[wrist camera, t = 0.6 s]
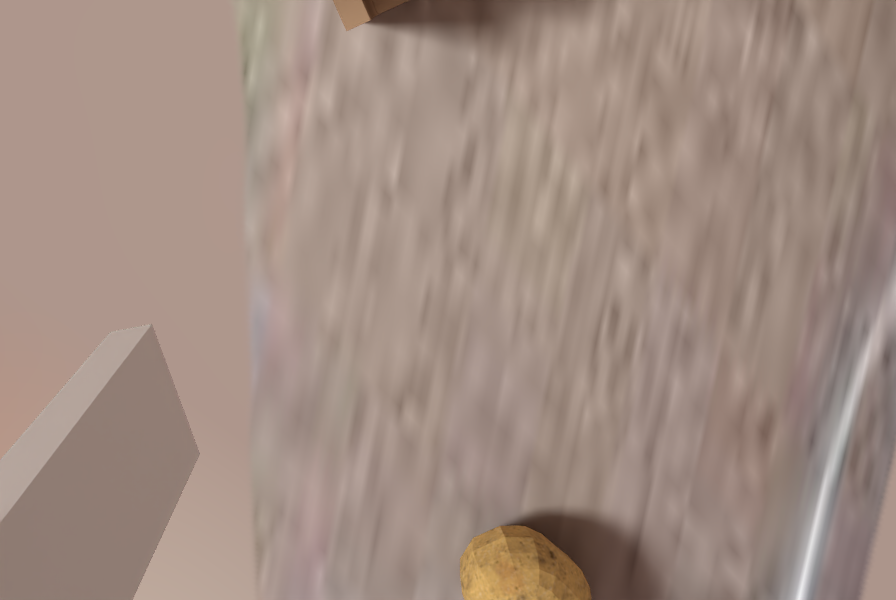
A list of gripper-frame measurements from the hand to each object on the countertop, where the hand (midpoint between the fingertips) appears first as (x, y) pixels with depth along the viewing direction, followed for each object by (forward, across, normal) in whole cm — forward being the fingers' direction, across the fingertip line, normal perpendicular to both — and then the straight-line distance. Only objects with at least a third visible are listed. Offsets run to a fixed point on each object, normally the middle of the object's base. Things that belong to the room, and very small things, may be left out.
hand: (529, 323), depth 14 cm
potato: (+26, -1, -28) cm, 38 cm away
